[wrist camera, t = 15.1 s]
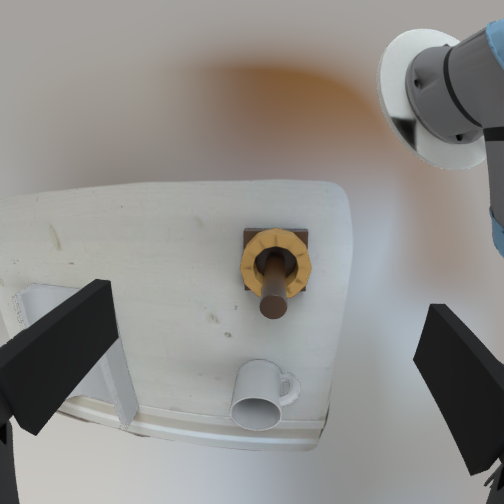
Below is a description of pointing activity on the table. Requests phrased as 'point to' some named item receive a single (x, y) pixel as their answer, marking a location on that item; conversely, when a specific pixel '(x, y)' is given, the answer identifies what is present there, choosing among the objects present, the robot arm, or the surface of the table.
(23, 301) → the skate ramp
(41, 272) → the table surface
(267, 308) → the stand
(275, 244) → the tape roll
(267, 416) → the cup
